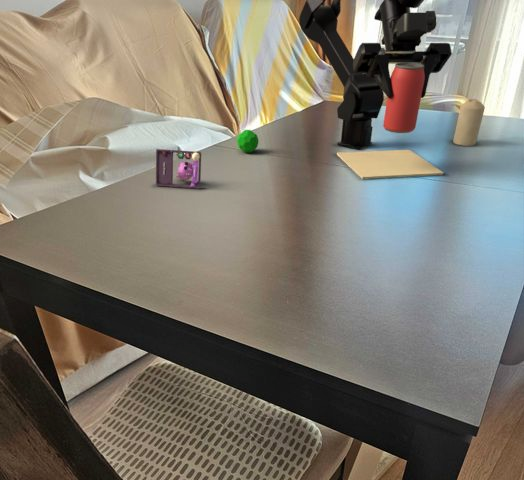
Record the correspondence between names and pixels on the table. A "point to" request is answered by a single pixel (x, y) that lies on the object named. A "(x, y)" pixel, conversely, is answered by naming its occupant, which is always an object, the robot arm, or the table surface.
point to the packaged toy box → (185, 169)
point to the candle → (469, 122)
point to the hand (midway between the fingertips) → (406, 97)
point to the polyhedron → (247, 141)
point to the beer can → (404, 97)
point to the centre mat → (388, 164)
